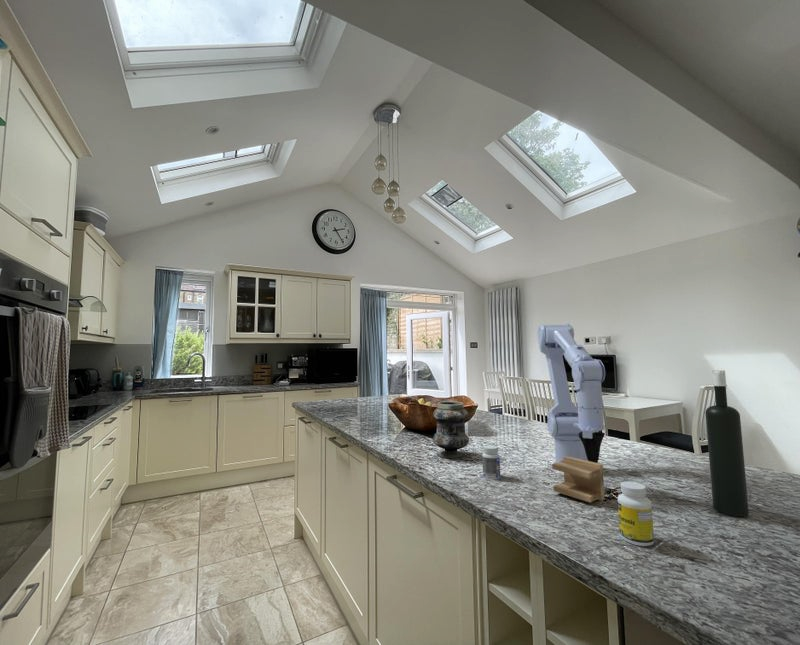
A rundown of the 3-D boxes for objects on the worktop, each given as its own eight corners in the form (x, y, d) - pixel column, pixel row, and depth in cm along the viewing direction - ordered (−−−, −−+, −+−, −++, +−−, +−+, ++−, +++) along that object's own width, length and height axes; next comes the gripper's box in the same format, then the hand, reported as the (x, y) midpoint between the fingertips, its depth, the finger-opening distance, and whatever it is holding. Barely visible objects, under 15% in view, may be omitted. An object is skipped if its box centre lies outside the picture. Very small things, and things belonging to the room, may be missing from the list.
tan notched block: (553, 494, 90) (568, 488, 94) (590, 506, 83) (604, 499, 87) (552, 460, 91) (566, 456, 95) (588, 469, 84) (602, 464, 88)
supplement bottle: (613, 533, 71) (610, 480, 72) (639, 531, 71) (636, 479, 72) (633, 548, 65) (629, 490, 66) (662, 546, 66) (658, 489, 67)
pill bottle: (501, 480, 100) (499, 449, 101) (483, 480, 101) (482, 448, 102) (499, 475, 105) (498, 444, 106) (482, 474, 106) (481, 444, 107)
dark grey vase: (472, 461, 118) (470, 404, 120) (434, 462, 118) (433, 405, 120) (466, 451, 130) (464, 399, 132) (432, 452, 131) (431, 400, 132)
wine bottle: (752, 518, 76) (738, 371, 78) (715, 512, 79) (704, 370, 81) (745, 508, 81) (732, 369, 83) (711, 503, 84) (699, 369, 86)
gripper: (577, 403, 103) (580, 453, 102) (567, 410, 91) (570, 467, 90) (606, 404, 99) (609, 456, 98) (600, 412, 87) (603, 471, 86)
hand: (593, 462), depth 94 cm, fingers closed
